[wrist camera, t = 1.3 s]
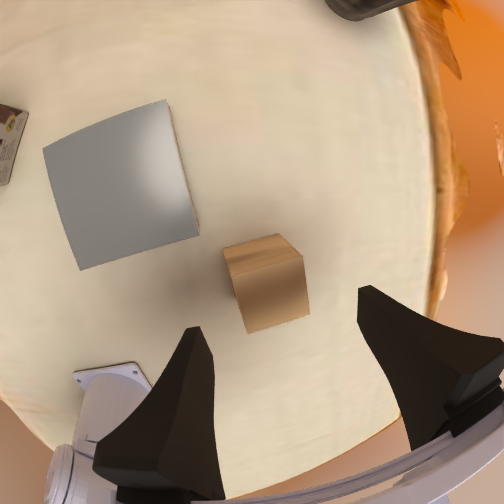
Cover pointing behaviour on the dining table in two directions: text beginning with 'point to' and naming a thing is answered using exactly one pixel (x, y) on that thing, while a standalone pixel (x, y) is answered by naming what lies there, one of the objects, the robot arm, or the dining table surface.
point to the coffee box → (9, 138)
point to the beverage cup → (363, 7)
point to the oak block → (267, 282)
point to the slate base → (121, 186)
